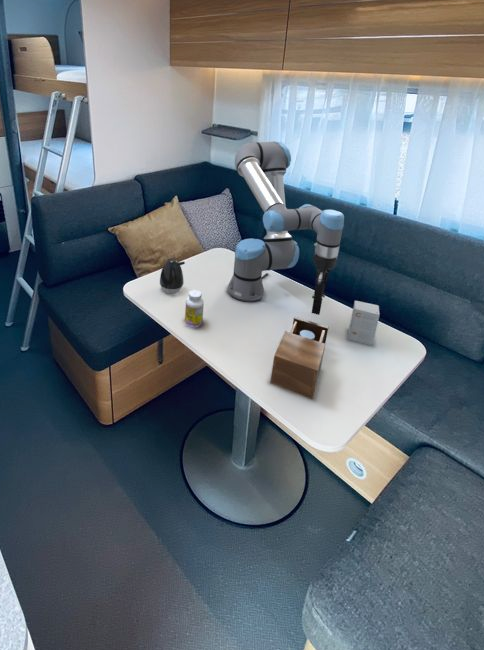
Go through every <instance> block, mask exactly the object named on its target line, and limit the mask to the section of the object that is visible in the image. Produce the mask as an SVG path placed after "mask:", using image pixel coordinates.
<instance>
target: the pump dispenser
mask: <svg viewBox="0 0 484 650" xmlns="http://www.w3.org/2000/svg"><path fill="white" fill-rule="evenodd" d="M185 264H186V262H185V261H178V259H177V258H176V257H175V258H174V257H170V258H167V260H166V261H165V262H164V264H163V266H162V268H161V272H160V276H159V285H160V287H161V289H162V290H163V292H164V293H167V294H176V293H179V292H180V291H181V290H182V288H183V286H184V283H185V282H184V274H183V269H182V266H183V265H185Z"/></svg>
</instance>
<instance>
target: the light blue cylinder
mask: <svg viewBox="0 0 484 650" xmlns="http://www.w3.org/2000/svg"><path fill="white" fill-rule="evenodd" d="M299 336H302V337H305V338H309V339H312V340H314V338H315V335H314V334H313V333H312V332H311V331H308V330H302V331H301V332H300V335H299Z"/></svg>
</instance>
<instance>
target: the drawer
mask: <svg viewBox="0 0 484 650" xmlns="http://www.w3.org/2000/svg"><path fill="white" fill-rule="evenodd" d="M302 330H308V331H311V332H312V333H313V334H314V335H315V338H314V340H315V341H318V342H321V343H324V344H325V345H326V342H327V337H328V333H329V326H328V325H324V324H321V323H317V322H314V321H311V320H308V319H304V318H301V317H297V316H294V317H293V321H292V326H291V329H290V330H289V332H290V333H293V334H296V335H300V332H301V331H302Z"/></svg>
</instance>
